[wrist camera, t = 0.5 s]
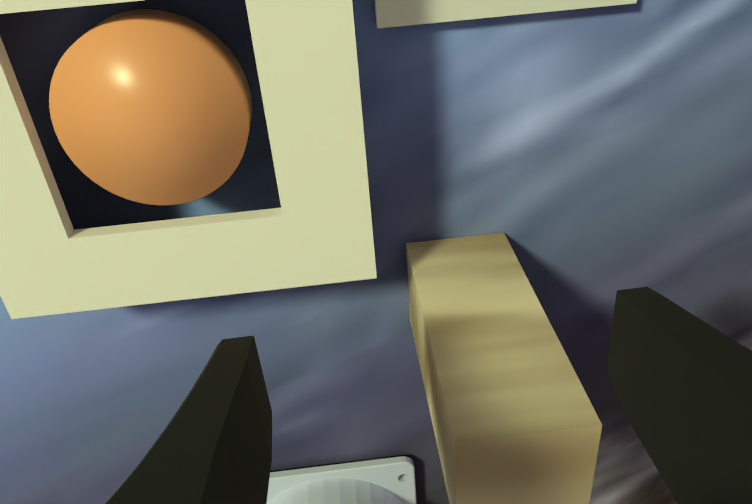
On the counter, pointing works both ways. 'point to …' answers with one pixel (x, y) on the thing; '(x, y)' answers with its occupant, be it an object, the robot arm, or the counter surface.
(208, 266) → the cream square frame
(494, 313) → the wood grain block
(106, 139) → the button
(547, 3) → the rubber mat
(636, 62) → the counter surface
